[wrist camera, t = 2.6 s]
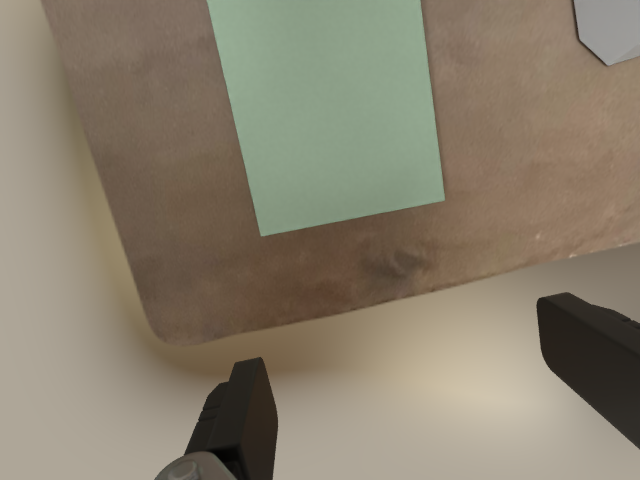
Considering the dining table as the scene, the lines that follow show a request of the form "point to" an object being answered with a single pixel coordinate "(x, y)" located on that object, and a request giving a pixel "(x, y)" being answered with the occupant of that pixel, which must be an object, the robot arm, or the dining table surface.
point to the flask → (610, 28)
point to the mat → (329, 107)
